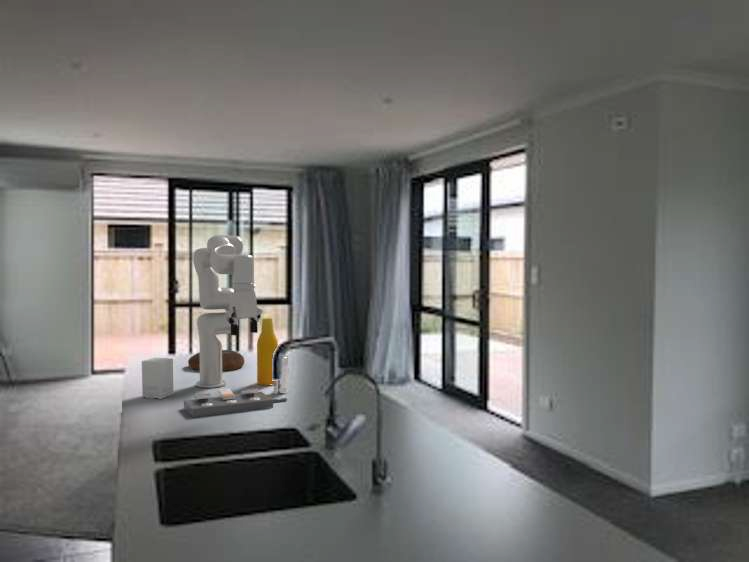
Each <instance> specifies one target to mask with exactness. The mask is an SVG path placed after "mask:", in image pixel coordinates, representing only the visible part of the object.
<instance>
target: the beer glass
mask: <svg viewBox="0 0 749 562" xmlns="http://www.w3.org/2000/svg"><path fill="white" fill-rule="evenodd" d="M284 356H285V357H284V361H283V366H282V376H281V379H280V380H278V381H274V385H273V391H272V393H273V392H274V393H273V394H275V393H286V392H288V393H289V389H288V388H289V387H288V377H289V372H290V361H289V356H288V355H284ZM286 394H287V393H286Z"/></svg>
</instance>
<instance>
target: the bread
mask: <svg viewBox="0 0 749 562" xmlns="http://www.w3.org/2000/svg"><path fill="white" fill-rule="evenodd" d="M187 361H188V362H187V363H188V366H189V367H190V368H191V369H192V370H196V371H199V372H200V351H199V352H197V353H194V355H192V356H191V357H190V358H189V359H188V360H187ZM244 364H245V357H244V356H243V355H242V354H241V353H239V352H237V351H235V350H231V349H222V371H224V372H231V370H232V371H236V370H239V369H241V368H242V367H243V366H244Z"/></svg>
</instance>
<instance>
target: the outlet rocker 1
mask: <svg viewBox="0 0 749 562" xmlns="http://www.w3.org/2000/svg"><path fill="white" fill-rule="evenodd" d="M218 394H219V395H220V396H221V397H222V399H223V400H227V399H235V395H236V394H235V393H234V392H233V390H231V388H230V387H228V388H219V389H218Z"/></svg>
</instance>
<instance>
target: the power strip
mask: <svg viewBox="0 0 749 562" xmlns="http://www.w3.org/2000/svg"><path fill="white" fill-rule="evenodd" d="M234 395H235V399H227V400H223V399H222V397H221V395H220V396H211V397H206V398H197V399H195V398H193V399H186V400H185V399H184V400H183V409H184V408H185V409H184V410H185V411H186V412H187V413H188V414H189V415H190V416H191V417H192V418H199V417H198V416H200V417H205V416H204V415H208V416H213V414H216V415H222V413H224V414H230V413H231V412H232V413H238V412H239V411H240V412H246V411H247V410H248V411H254V409H256V410H262V408H264V409H270V408H269V407H272V408H274V403H279V402H278V401H282V402H287V401H288V398H287V397H282V398H272V397H270V396H268V395H267V394H266V393H264V392H262V391H258V392H251V393H242V394H240V393H239V394H234ZM286 400H287V401H286ZM196 416H197V417H196Z"/></svg>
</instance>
